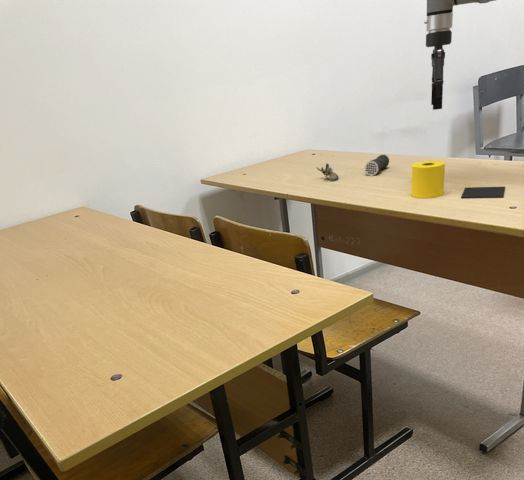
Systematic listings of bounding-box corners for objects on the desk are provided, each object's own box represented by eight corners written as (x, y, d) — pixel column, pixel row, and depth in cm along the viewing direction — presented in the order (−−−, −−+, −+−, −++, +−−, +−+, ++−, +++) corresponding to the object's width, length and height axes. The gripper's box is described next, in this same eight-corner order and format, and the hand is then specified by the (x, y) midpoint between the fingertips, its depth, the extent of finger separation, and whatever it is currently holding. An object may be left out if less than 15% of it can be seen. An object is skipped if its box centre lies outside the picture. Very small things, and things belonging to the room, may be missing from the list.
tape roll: (429, 188, 179) (430, 159, 174) (450, 193, 170) (451, 163, 166) (405, 194, 176) (405, 165, 171) (424, 199, 167) (425, 169, 163)
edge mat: (505, 187, 168) (505, 186, 168) (503, 197, 159) (503, 196, 159) (465, 188, 173) (465, 187, 173) (460, 198, 164) (461, 197, 164)
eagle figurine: (312, 177, 212) (322, 176, 204) (319, 159, 211) (328, 158, 203) (328, 184, 215) (338, 184, 207) (334, 167, 214) (345, 166, 206)
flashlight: (377, 167, 219) (377, 153, 217) (390, 167, 217) (390, 153, 214) (364, 175, 208) (364, 161, 205) (378, 175, 205) (377, 161, 203)
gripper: (424, 33, 173) (423, 103, 183) (427, 32, 152) (425, 112, 162) (449, 29, 171) (446, 101, 181) (454, 28, 150) (451, 109, 160)
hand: (436, 106), depth 172 cm, fingers open, 13 cm apart
